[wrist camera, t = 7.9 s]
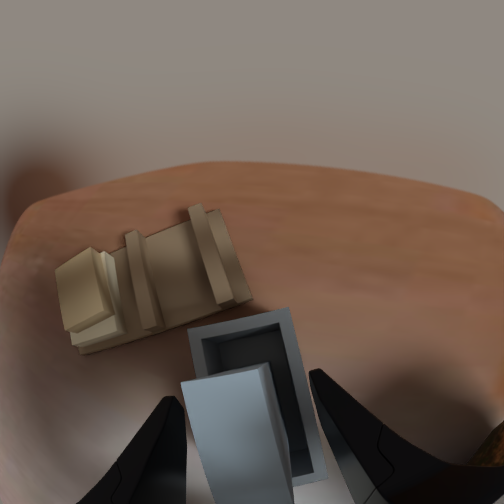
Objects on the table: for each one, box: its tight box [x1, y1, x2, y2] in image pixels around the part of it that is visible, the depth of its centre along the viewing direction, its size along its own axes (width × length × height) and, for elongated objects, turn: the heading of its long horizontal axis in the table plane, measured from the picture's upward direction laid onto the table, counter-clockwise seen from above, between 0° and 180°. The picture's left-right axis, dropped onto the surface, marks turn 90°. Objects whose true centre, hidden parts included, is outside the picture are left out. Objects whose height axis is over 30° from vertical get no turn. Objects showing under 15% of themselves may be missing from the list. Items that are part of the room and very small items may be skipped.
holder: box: [187, 307, 328, 487], centre depth 13 cm, size 9×5×5 cm, turn 12°
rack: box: [55, 203, 253, 355], centre depth 17 cm, size 7×14×3 cm, turn 110°
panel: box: [181, 361, 294, 504], centre depth 10 cm, size 4×2×10 cm, turn 13°
